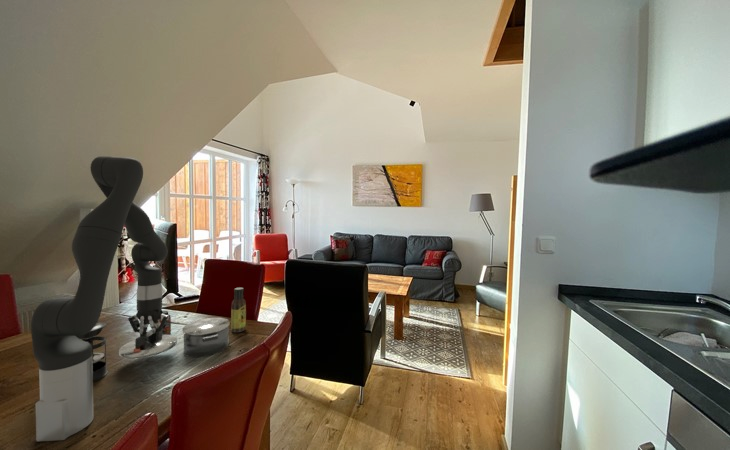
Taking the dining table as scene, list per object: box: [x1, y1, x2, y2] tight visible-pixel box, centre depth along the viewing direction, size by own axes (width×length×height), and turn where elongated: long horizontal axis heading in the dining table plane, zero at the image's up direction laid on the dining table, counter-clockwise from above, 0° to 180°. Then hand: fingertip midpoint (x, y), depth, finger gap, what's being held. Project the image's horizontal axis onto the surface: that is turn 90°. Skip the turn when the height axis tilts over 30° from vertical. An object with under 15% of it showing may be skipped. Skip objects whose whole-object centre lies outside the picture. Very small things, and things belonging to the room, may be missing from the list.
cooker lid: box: [118, 329, 178, 360], centre depth 103 cm, size 17×17×5 cm
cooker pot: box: [181, 317, 231, 358], centre depth 114 cm, size 22×17×9 cm
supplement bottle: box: [154, 310, 172, 335], centre depth 122 cm, size 6×6×11 cm
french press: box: [76, 321, 109, 383], centre depth 91 cm, size 12×9×23 cm
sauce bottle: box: [230, 287, 247, 333], centre depth 131 cm, size 6×6×20 cm
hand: (149, 342), depth 103 cm, fingers closed on cooker lid, 3 cm apart
